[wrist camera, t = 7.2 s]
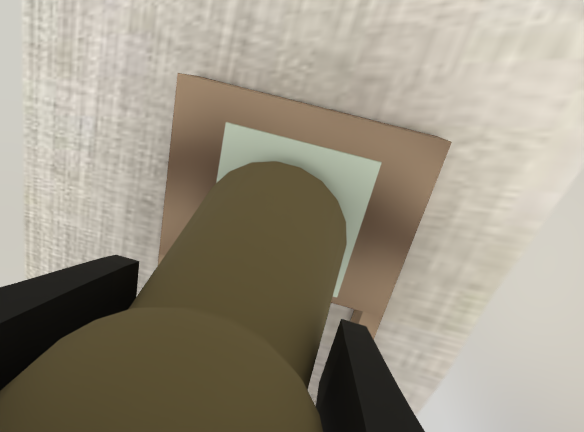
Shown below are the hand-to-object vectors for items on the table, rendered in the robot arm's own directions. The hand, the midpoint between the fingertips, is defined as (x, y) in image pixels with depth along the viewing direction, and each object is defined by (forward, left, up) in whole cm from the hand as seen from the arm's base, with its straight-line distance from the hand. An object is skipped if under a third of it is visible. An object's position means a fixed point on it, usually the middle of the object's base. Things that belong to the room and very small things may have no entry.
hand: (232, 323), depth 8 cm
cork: (0, 0, -6) cm, 6 cm away
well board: (-4, 0, -10) cm, 11 cm away
